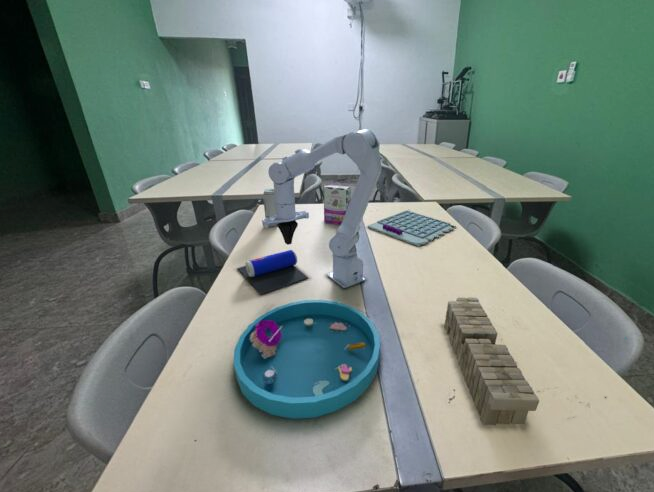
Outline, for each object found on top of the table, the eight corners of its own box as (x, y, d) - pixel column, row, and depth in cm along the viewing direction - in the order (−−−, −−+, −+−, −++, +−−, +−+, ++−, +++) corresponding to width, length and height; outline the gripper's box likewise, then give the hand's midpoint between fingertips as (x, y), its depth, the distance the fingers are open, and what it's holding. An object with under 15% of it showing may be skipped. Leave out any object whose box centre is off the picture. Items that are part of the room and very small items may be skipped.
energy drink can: (265, 222, 138) (261, 189, 132) (279, 220, 140) (276, 187, 134) (267, 227, 133) (263, 192, 127) (281, 225, 135) (278, 191, 129)
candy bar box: (351, 222, 142) (351, 186, 135) (347, 226, 138) (347, 189, 131) (328, 218, 145) (327, 183, 138) (323, 222, 140) (322, 186, 134)
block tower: (442, 325, 81) (483, 433, 54) (446, 297, 77) (492, 397, 51) (472, 325, 81) (529, 433, 54) (477, 297, 78) (540, 397, 51)
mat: (308, 278, 97) (307, 277, 97) (260, 295, 88) (260, 293, 88) (281, 256, 110) (281, 255, 110) (238, 269, 101) (237, 268, 101)
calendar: (456, 228, 140) (457, 223, 139) (420, 247, 120) (421, 241, 119) (406, 213, 157) (406, 208, 156) (367, 227, 137) (367, 222, 136)
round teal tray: (270, 307, 84) (268, 288, 81) (383, 318, 81) (384, 299, 79) (205, 407, 56) (199, 383, 54) (371, 429, 54) (373, 405, 51)
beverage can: (294, 247, 102) (246, 258, 94) (299, 261, 101) (252, 275, 93) (289, 252, 106) (244, 264, 98) (295, 266, 105) (249, 279, 97)
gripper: (300, 195, 102) (302, 233, 107) (256, 202, 93) (260, 244, 99) (311, 200, 97) (313, 241, 102) (266, 209, 88) (270, 252, 94)
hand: (288, 243), depth 100 cm, fingers closed
